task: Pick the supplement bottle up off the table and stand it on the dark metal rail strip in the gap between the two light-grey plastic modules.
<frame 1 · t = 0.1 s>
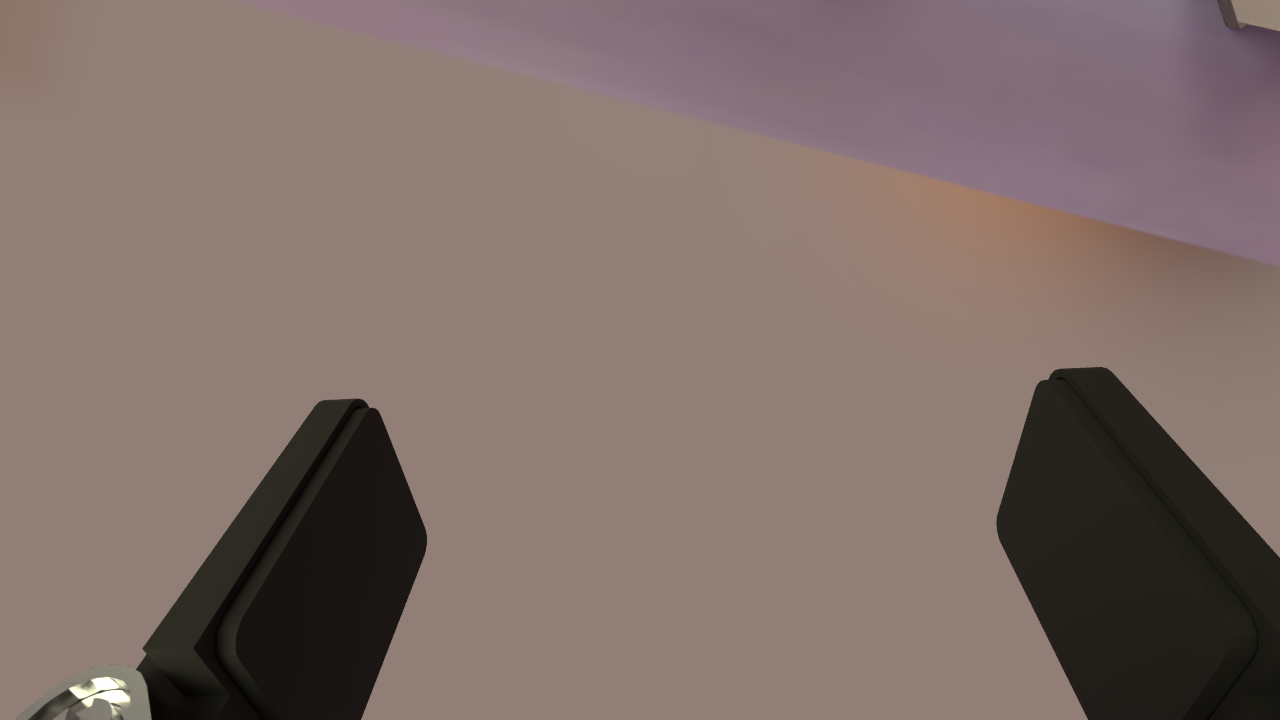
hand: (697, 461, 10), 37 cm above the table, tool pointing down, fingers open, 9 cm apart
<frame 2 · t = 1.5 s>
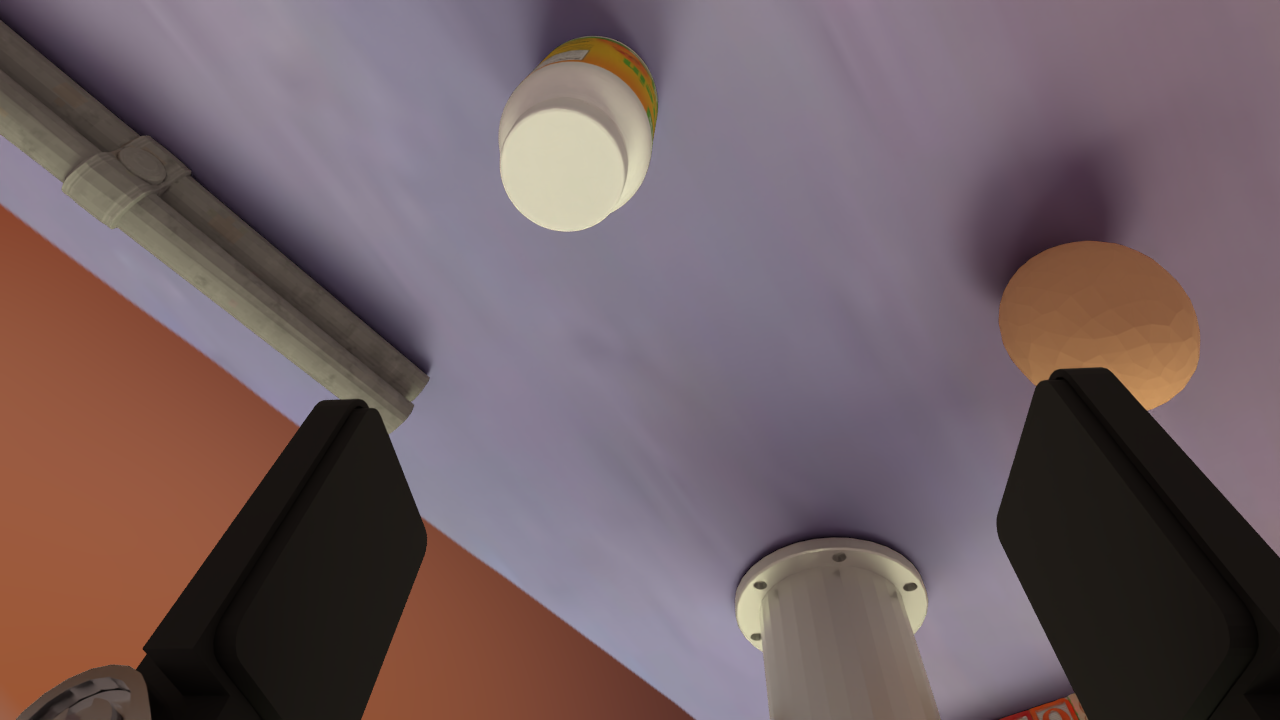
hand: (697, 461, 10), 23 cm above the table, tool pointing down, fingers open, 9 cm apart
egg: (1043, 276, 33), on the table
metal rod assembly: (224, 208, 33), on the table
stack of blocks: (1061, 716, 53), on the table
supplement bottle: (596, 100, 29), on the table
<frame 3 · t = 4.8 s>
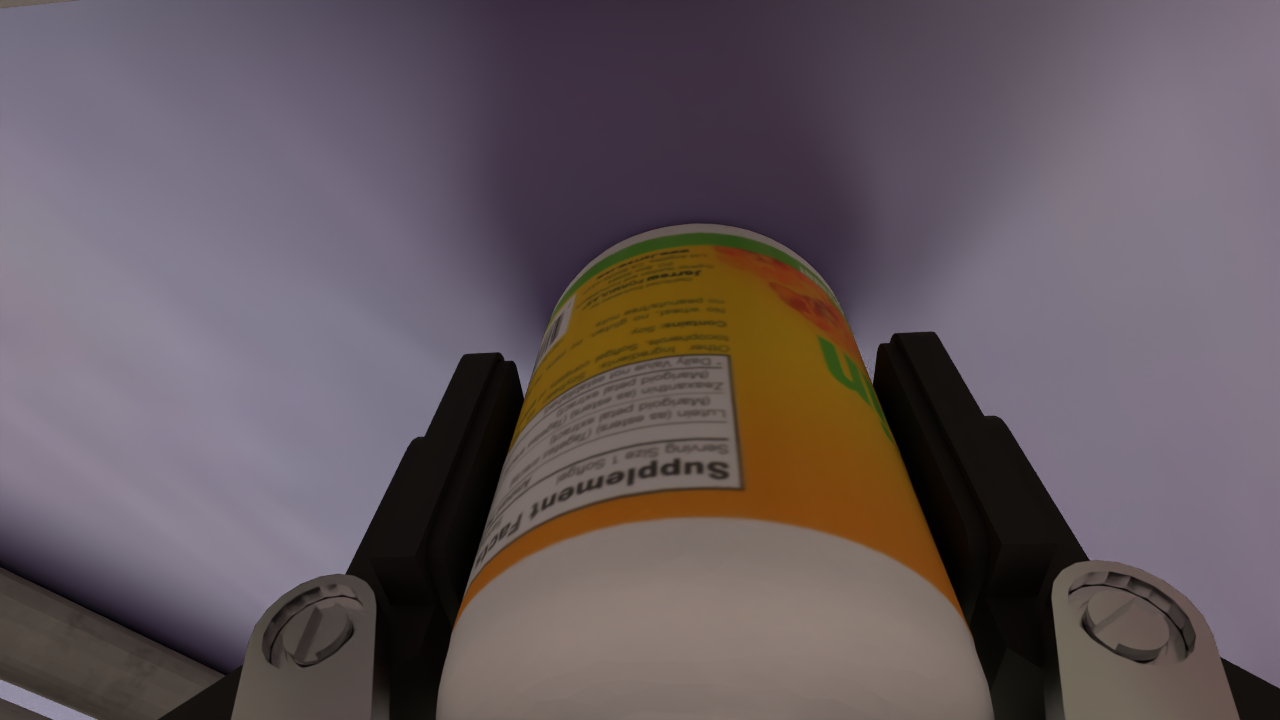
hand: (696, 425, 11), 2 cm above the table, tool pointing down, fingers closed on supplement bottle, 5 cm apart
supplement bottle: (694, 347, 12), on the table, touching gripper
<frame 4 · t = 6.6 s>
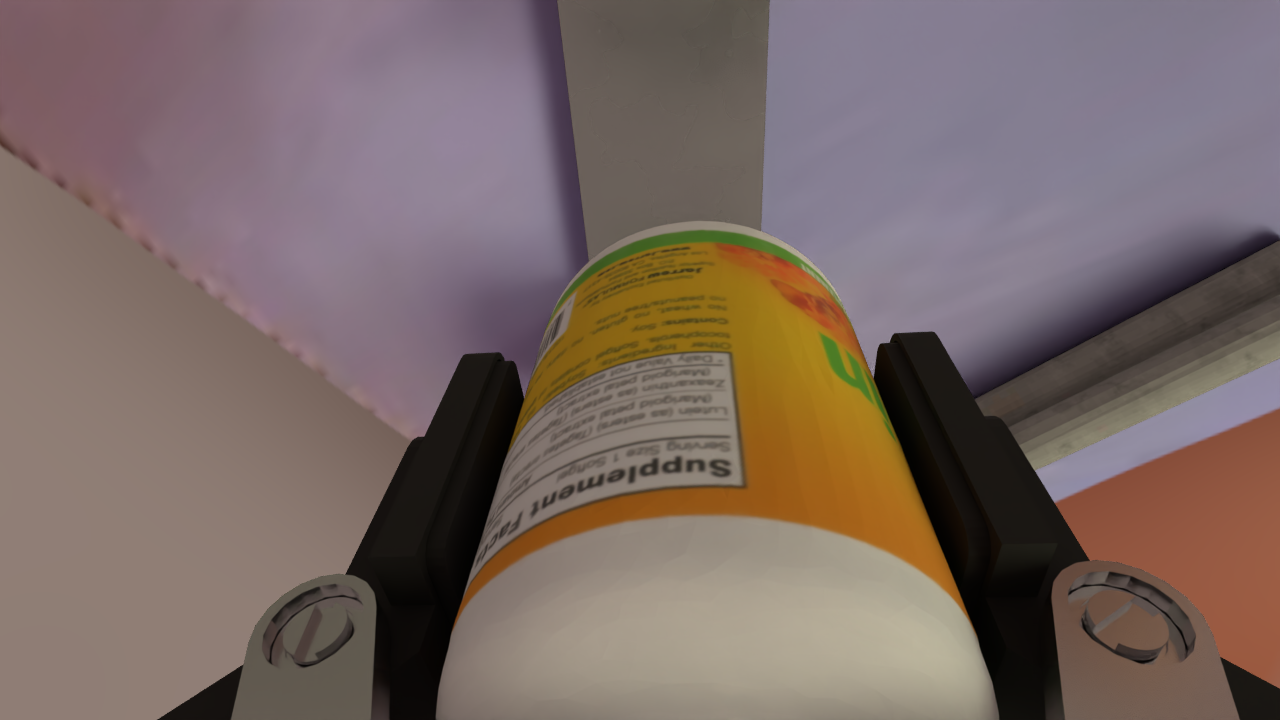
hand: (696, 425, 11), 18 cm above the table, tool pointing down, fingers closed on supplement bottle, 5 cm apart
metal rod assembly: (978, 398, 33), on the table
rail: (669, 126, 26), on the table
supplement bottle: (695, 345, 12), point 16 cm above the table, touching gripper
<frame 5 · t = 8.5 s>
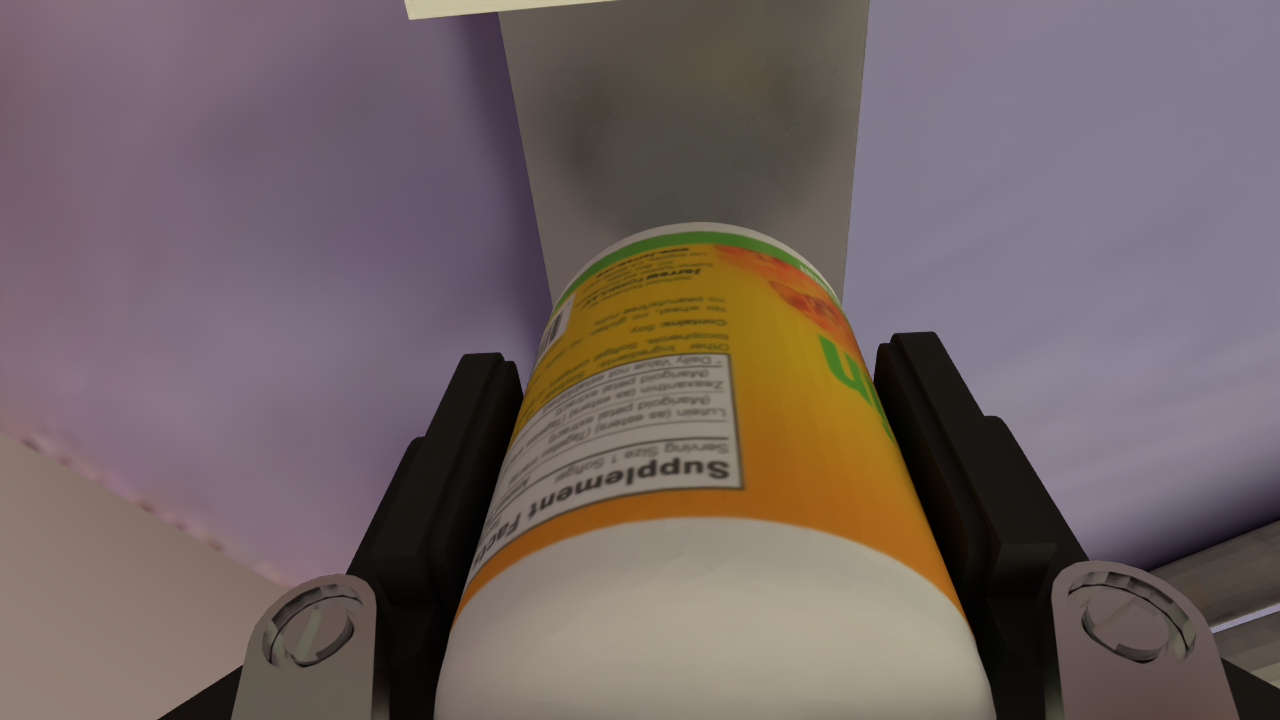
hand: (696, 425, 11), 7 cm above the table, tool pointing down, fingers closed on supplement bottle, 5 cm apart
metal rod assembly: (1128, 572, 24), on the table
rail: (692, 232, 17), on the table
supplement bottle: (694, 346, 12), point 5 cm above the table, touching gripper
when the fingers open (5 cm above the table, at t = 9.8 s): supplement bottle drops 2 cm, resting on rail.
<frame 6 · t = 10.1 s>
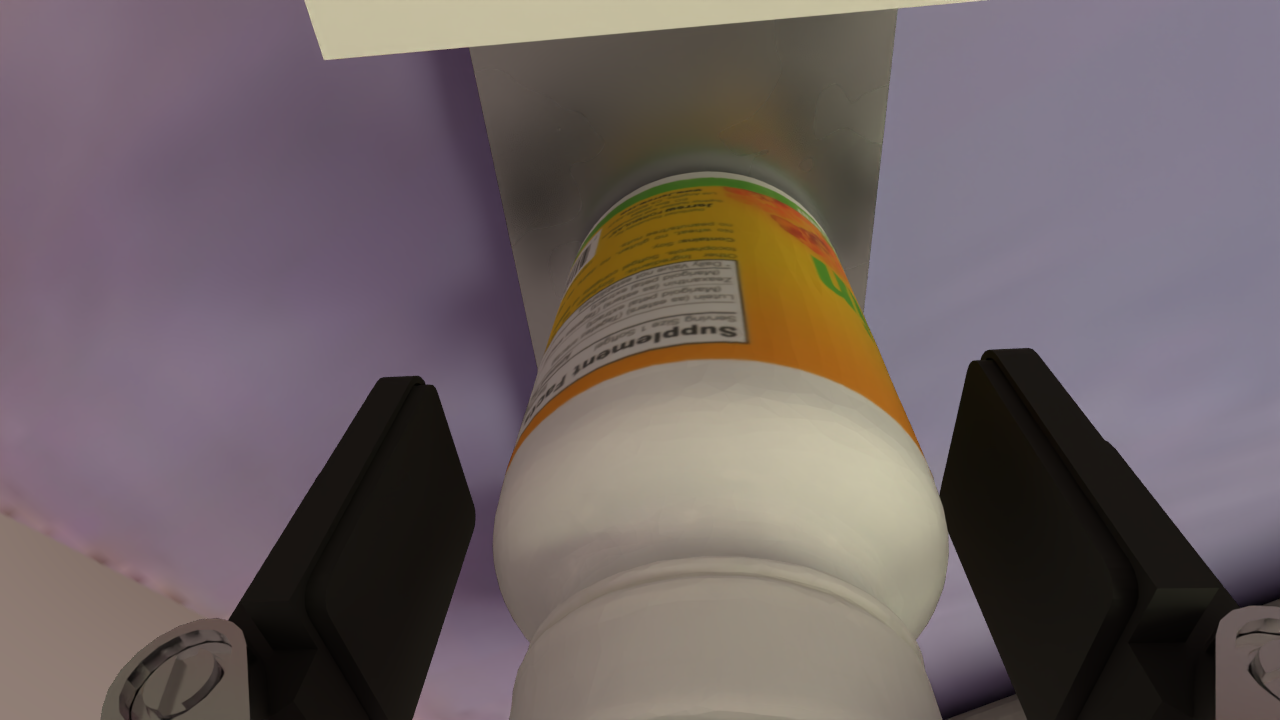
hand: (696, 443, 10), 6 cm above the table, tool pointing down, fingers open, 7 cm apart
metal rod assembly: (1164, 629, 22), on the table
rail: (690, 274, 15), on the table
supplement bottle: (702, 290, 14), point 1 cm above the table, touching rail
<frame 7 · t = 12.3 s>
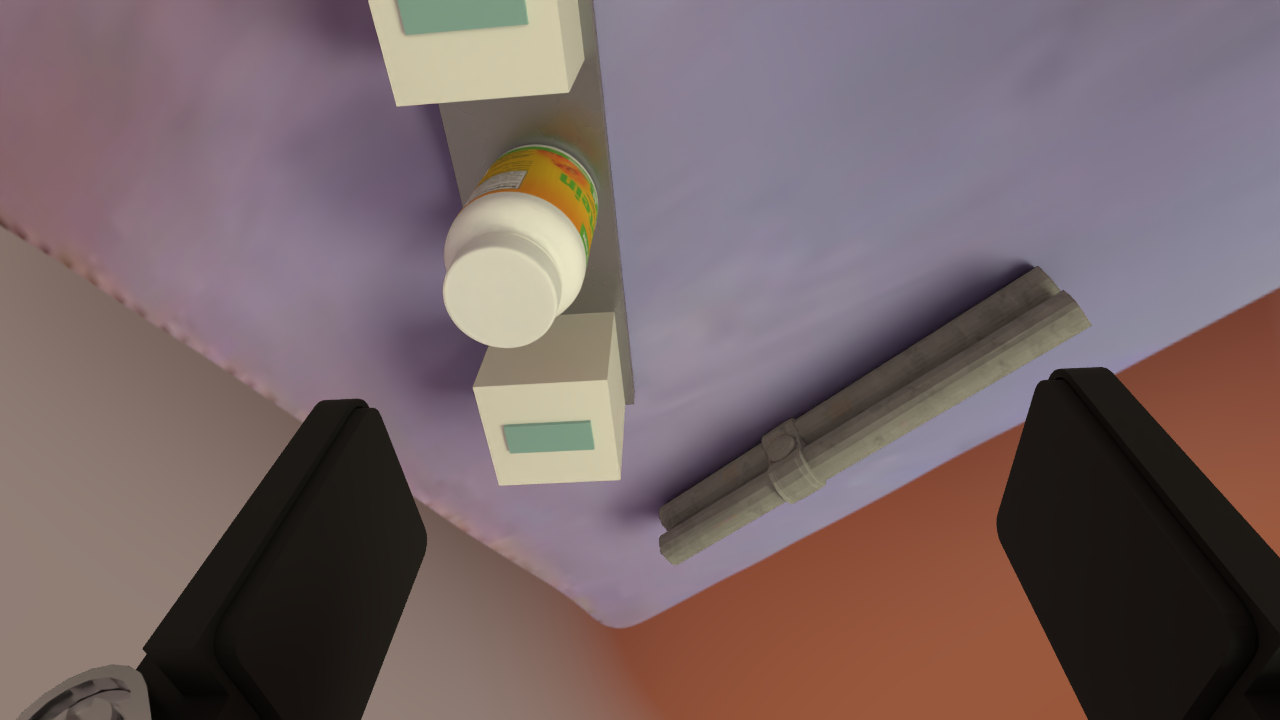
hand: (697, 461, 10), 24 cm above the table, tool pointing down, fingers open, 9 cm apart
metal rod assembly: (826, 402, 40), on the table
module b: (564, 363, 36), resting on rail
rail: (540, 194, 32), on the table
supplement bottle: (541, 198, 31), point 1 cm above the table, touching rail
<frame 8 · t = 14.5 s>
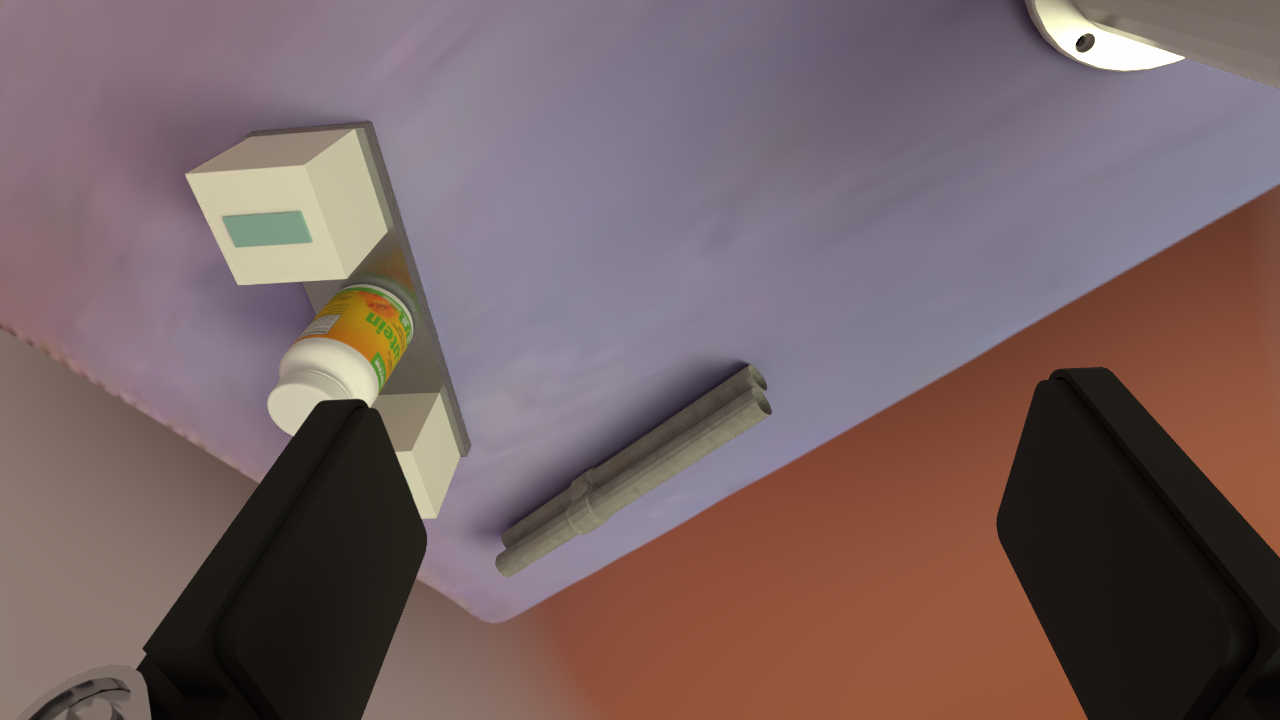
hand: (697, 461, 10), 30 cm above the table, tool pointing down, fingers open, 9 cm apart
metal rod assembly: (621, 456, 52), on the table
module b: (409, 427, 49), resting on rail
rail: (377, 311, 45), on the table
supplement bottle: (374, 316, 44), point 1 cm above the table, touching rail
module a: (321, 185, 39), resting on rail
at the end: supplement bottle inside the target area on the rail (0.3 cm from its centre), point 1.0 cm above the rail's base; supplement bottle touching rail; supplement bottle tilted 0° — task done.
